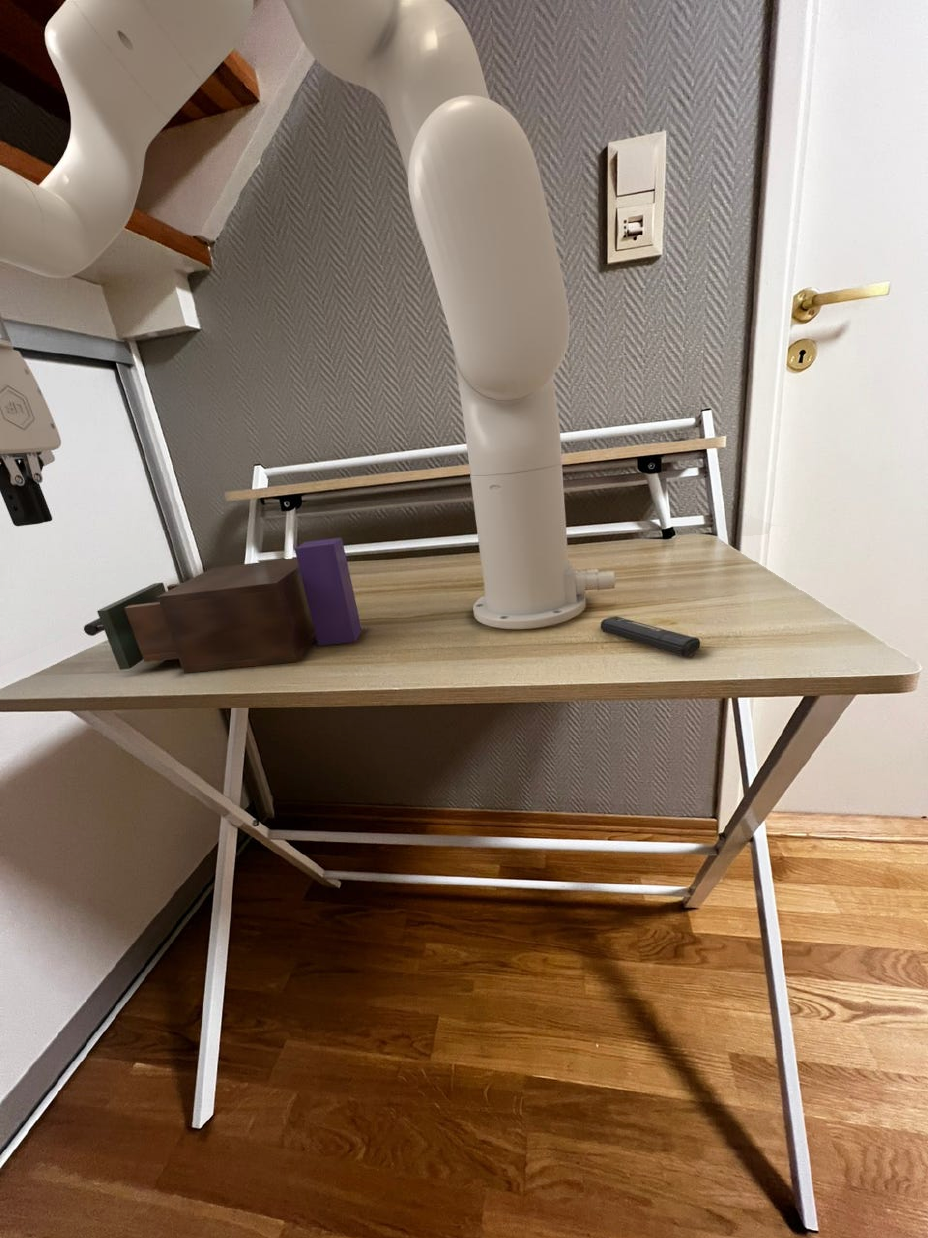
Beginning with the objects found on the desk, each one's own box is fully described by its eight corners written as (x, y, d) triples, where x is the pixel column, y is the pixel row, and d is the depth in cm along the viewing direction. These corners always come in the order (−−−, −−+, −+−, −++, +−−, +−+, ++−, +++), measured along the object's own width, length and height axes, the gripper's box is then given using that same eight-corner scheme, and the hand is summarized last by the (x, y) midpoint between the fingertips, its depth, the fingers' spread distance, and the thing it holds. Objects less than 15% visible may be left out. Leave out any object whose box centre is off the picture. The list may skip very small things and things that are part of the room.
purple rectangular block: (362, 631, 62) (341, 537, 58) (355, 642, 59) (333, 543, 55) (326, 635, 62) (304, 542, 58) (318, 646, 59) (294, 548, 55)
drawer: (86, 673, 58) (62, 614, 56) (142, 638, 67) (123, 587, 65) (220, 659, 56) (201, 598, 54) (259, 625, 66) (244, 572, 63)
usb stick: (704, 651, 45) (704, 634, 45) (685, 661, 44) (685, 644, 44) (616, 626, 53) (616, 611, 52) (598, 634, 52) (597, 619, 51)
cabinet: (183, 673, 57) (157, 596, 54) (232, 634, 67) (211, 567, 64) (297, 661, 55) (276, 582, 52) (329, 623, 66) (313, 555, 63)
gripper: (-86, 313, 44) (6, 533, 50) (55, 339, 58) (113, 509, 64) (-166, 326, 45) (-66, 542, 51) (-8, 348, 59) (55, 515, 65)
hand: (33, 523), depth 58 cm, fingers closed
